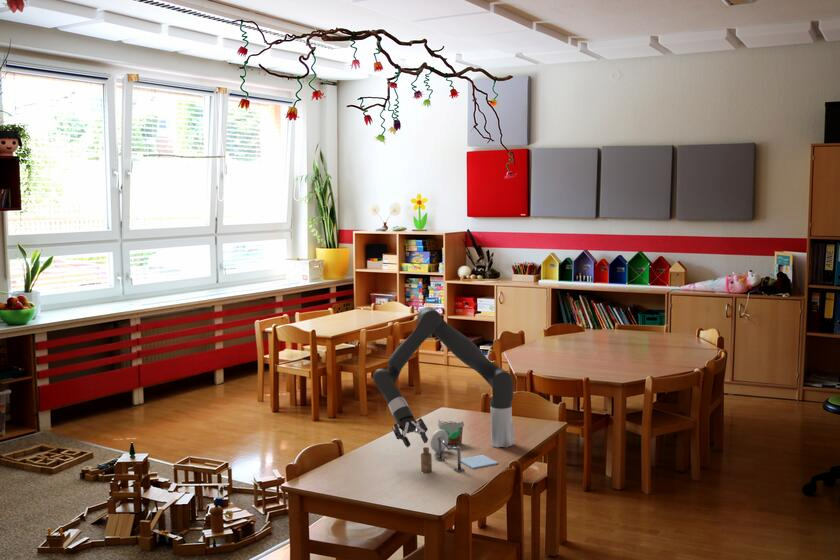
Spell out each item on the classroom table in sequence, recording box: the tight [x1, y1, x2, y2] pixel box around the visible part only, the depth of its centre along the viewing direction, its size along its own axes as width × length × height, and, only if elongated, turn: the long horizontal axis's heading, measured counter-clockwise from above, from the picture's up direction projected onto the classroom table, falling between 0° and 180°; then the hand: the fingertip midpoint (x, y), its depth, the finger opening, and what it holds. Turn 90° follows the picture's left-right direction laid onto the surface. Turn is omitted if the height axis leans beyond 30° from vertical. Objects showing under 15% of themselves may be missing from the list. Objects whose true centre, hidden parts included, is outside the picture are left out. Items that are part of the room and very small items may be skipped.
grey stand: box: [435, 437, 465, 473], centre depth 320 cm, size 3×19×10 cm, turn 27°
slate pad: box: [461, 454, 499, 470], centre depth 323 cm, size 12×12×1 cm
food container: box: [436, 419, 465, 446], centre depth 348 cm, size 12×6×10 cm, turn 68°
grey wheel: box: [430, 428, 448, 454], centre depth 337 cm, size 10×4×10 cm, turn 139°
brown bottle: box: [420, 446, 433, 474], centre depth 313 cm, size 4×4×10 cm
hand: (417, 444), depth 317 cm, fingers open, 8 cm apart
